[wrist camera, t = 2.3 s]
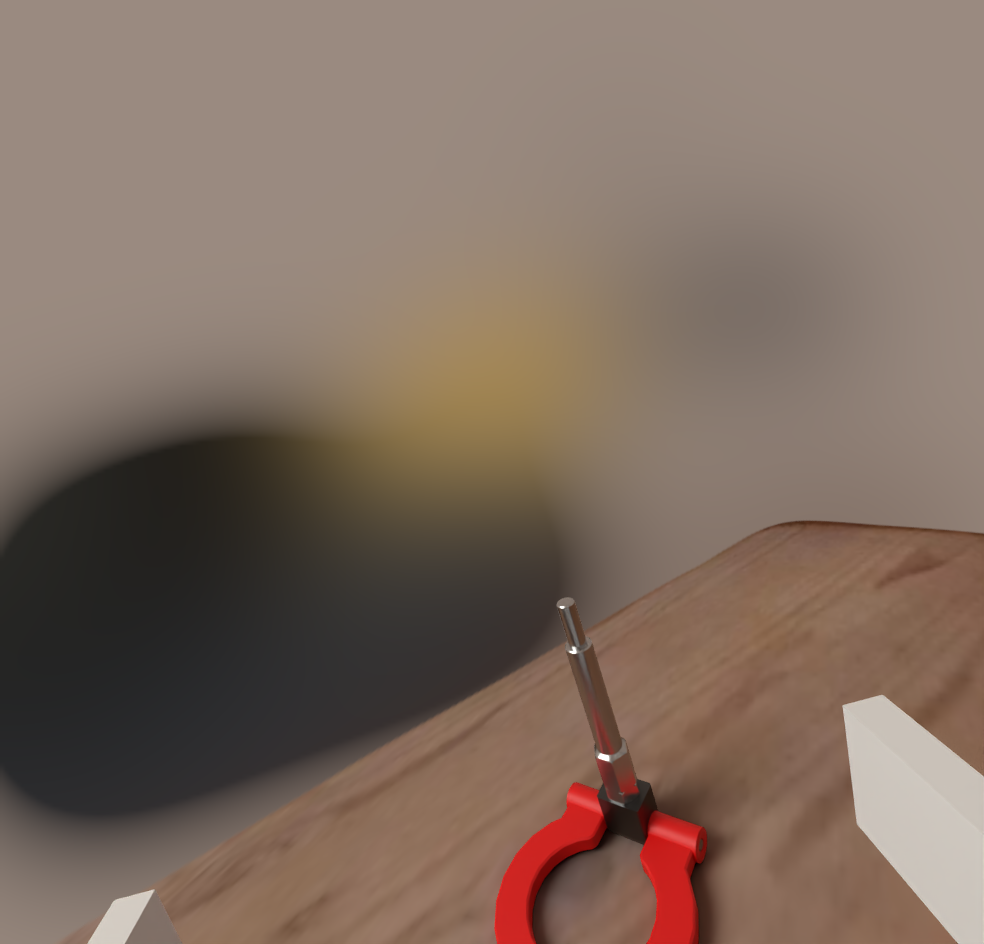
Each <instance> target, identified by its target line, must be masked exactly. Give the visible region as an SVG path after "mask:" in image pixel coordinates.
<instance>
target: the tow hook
mask: <svg viewBox="0 0 984 944" xmlns="http://www.w3.org/2000/svg"><path fill="white" fill-rule="evenodd" d="M557 608H558V611H559V615H560V618H561V621H562V624H563V627H564V630H565V634H566V637H567V640H568V642H567V643H566V645H565V650H566V653H567V656H568V659H569V662H570V665H571V669H572V672H573V675H574V678H575V681H576V684H577V687H578V691H579V694H580V697H581V700H582V703H583V706H584V709H585V713H586V716H587V719H588V722H589V725H590V728H591V731H592V735H593V738H594V741H595V745H594V749H595V758H596V762H597V765H598V768H599V771H600V774H601V777H602V780H603V785H602V787H601V789H600V791H599V790H597V789H594V788H591V787H588V786H585V785H583V784H580V783H577V782H576V783H573V784H572V786H571V787H570V789H569V792H568V795H567V809H566V811H565V813H564V815H563V816H562V818H561V819H558V820H556V821H554V822H551V823H550V824H548V825H547V826H546V827H544V828H543V829H541V830H540V831H539V832H537V833H536V834H534V835H533V836H532V837H531V838H530V839H529V840H528V841H527V842H526V844H525V845H524V846H523V847H522V848H521V849H520V850H519V851H518V853H517V854H516V855H515V857H514V859H513V861H512V862H511V864H510V866H509V868H508V869H507V871H506V873H505V875H504V877H503V881H502V884H501V887H500V890H499V894H498V897H497V900H496V913H495V934H496V940H497V944H536V942H535V937H534V933H533V929H532V912H533V907H534V902H535V898H536V894H537V892H538V890H539V888H540V886H541V884H542V882H543V880H544V878H545V877H546V876H547V875H548V874H549V872H550V871H551V870H552V869H553V868H554V866H556V865H557V864H558V863H560V862H561V861H562V860H564V859H565V858H566V857H568V856H570V855H573V854H575V853H577V852H580V851H584V850H590V849H593V848H595V847H596V846H598V844H599V842H600V840H601V838H602V836H603V834H604V832H605V830H606V828H608V829H609V830H610V831H611V832H614V833H616V834H619V835H621V836H624V837H626V838H628V839H631V840H633V841H636V842H638V843H641V844H643V845H644V847H643V849H642V851H641V854H640V858H641V862H642V865H643V869H644V872H645V873H646V874H647V875H648V877H649V878H650V880H651V882H652V884H653V886H654V888H655V893H656V898H657V911H656V921H655V924H654V927H653V930H652V933H651V937H650V939H649V940H648V942H647V943H646V944H698V942H699V926H698V908H697V904H696V900H695V896H694V893H693V889H692V885H691V881H690V877H691V874H692V871H693V868H694V865H695V863H696V862H697V863H702V861H703V859H704V857H705V853H706V848H707V833H706V830H705V828H704V827H701V826H698V825H695V824H692V823H689V822H687V821H684V820H681V819H678V818H675V817H673V816H670V815H667V814H664V813H661V812H659V811H658V809H657V805H656V802H655V799H654V795H653V792H652V788H651V785H650V783H647V782H644V781H641V780H638V779H637V777H636V773H635V771H634V767H633V763H632V760H631V756H630V753H629V750H628V746H627V743H626V740H625V739H624V738H622V737H620V734H619V730H618V727H617V724H616V720H615V717H614V714H613V710H612V707H611V704H610V700H609V697H608V694H607V690H606V687H605V684H604V680H603V677H602V674H601V671H600V667H599V664H598V661H597V657H596V654H595V651H594V647H593V644H592V641H591V639H590V638H588V637H586V636H585V634H584V631H583V628H582V624H581V621H580V618H579V614H578V611H577V608H576V605H575V601H574V599H572V598H563V599H561V600H559V601H558V603H557Z"/></svg>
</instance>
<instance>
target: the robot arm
mask: <svg viewBox="0 0 984 944" xmlns="http://www.w3.org/2000/svg"><path fill="white" fill-rule="evenodd" d="M843 712H844V720H845V728H846V737H847V745H848V753H849V761H850V770H851V778H852V786H853V795H854V803H855V811H856V820H857V825H858V826H859V827H860V828H861V829H862V830H863V832H864V833H865V834H866V835H867V836H868V838H869V839H870V840H871V841H872V842H873V843H874V845H875V846H876V847H877V848H878V849H879V851H880V852H881V853H882V854H883V855H884V856H885V858H886V859H887V860H888V861H889V862H890V864H891V865H892V866H893V867H894V868H895V869H896V871H897V872H898V873H899V874H900V875H901V877H902V878H903V879H904V880H905V881H906V882H907V884H908V885H909V886H910V887H911V888H912V890H913V891H914V892H915V893H916V894H917V896H918V897H919V898H920V899H921V900H922V901H923V903H924V904H925V905H926V906H927V907H928V909H929V910H930V911H931V912H932V913H933V914H934V916H935V917H936V918H937V919H938V920H939V922H940V923H941V924H942V925H943V926H944V927H945V929H946V930H947V931H948V932H949V933H950V935H951V936H952V937H953V938H954V939H955V940H956V942H957V943H958V944H984V777H983V776H982V775H981V774H980V773H979V772H977V771H976V770H975V769H974V768H972V767H971V766H970V765H969V764H967V763H966V762H965V761H964V760H962V759H961V758H960V757H959V756H958V755H956V754H955V753H954V752H953V751H951V750H950V749H949V748H948V747H946V746H945V745H944V744H943V743H941V742H940V741H939V740H938V739H937V738H935V737H934V736H933V735H932V734H930V733H929V732H928V731H927V730H925V729H924V728H923V727H922V726H920V725H919V724H918V723H917V722H916V721H914V720H913V719H912V718H911V717H909V716H908V715H907V714H906V713H904V712H903V711H902V710H901V709H899V708H898V707H897V706H896V705H895V704H893V703H892V702H891V701H890V700H888V699H887V698H886V697H885V696H883V695H880V696H876V697H872V698H868V699H865V700H861V701H857V702H853V703H850V704H846V705H843ZM88 944H182V942H181V940H180V938H179V936H178V934H177V932H176V930H175V928H174V926H173V924H172V922H171V920H170V918H169V916H168V914H167V912H166V910H165V908H164V906H163V904H162V902H161V900H160V898H159V896H158V894H157V892H156V890H155V889H154V890H150V891H147V892H143V893H139V894H135V895H132V896H128V897H124V898H120V899H117V900H114V902H113V903H112V905H111V907H110V908H109V910H108V911H107V913H106V915H105V916H104V918H103V919H102V921H101V923H100V924H99V926H98V928H97V929H96V931H95V932H94V934H93V936H92V937H91V939H90V940H89V942H88Z"/></svg>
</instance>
